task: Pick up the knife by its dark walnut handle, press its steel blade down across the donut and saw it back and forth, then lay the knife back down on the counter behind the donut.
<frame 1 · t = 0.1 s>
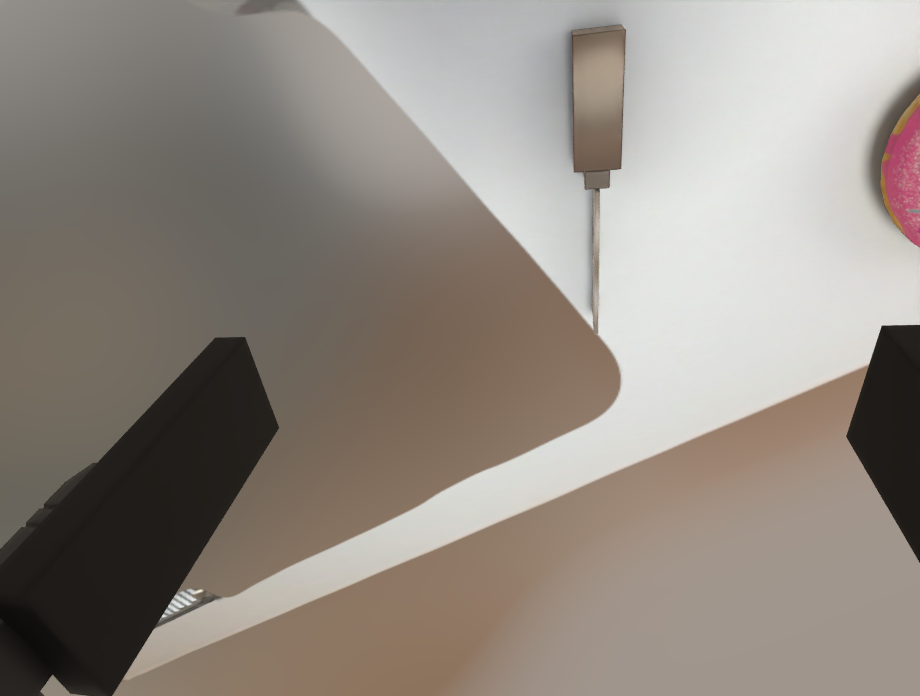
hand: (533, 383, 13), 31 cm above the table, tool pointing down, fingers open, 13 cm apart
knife: (596, 96, 38), on the table
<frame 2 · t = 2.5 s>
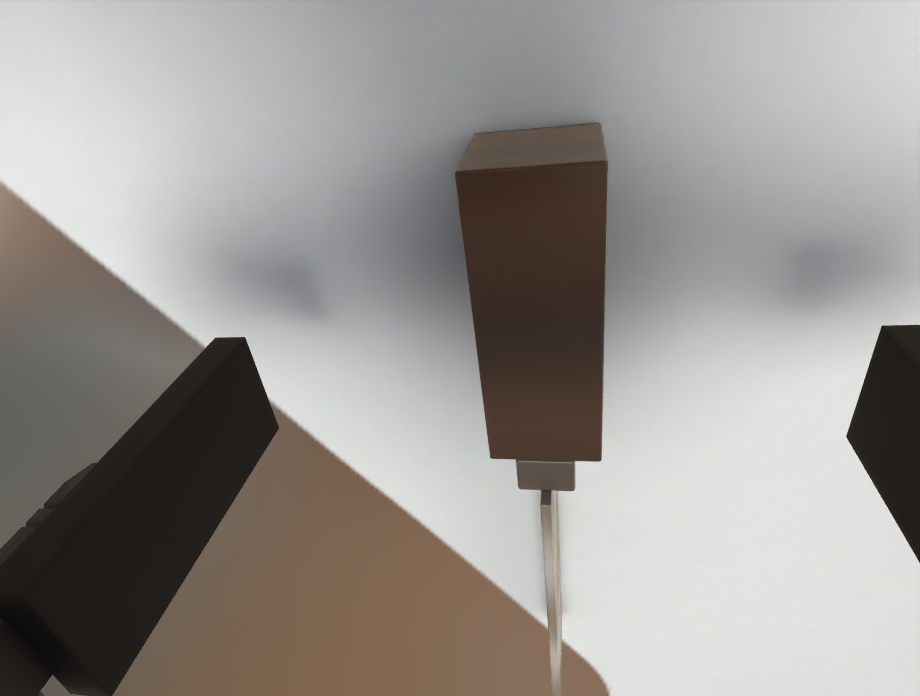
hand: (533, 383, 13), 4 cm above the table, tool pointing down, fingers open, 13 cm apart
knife: (543, 278, 16), on the table
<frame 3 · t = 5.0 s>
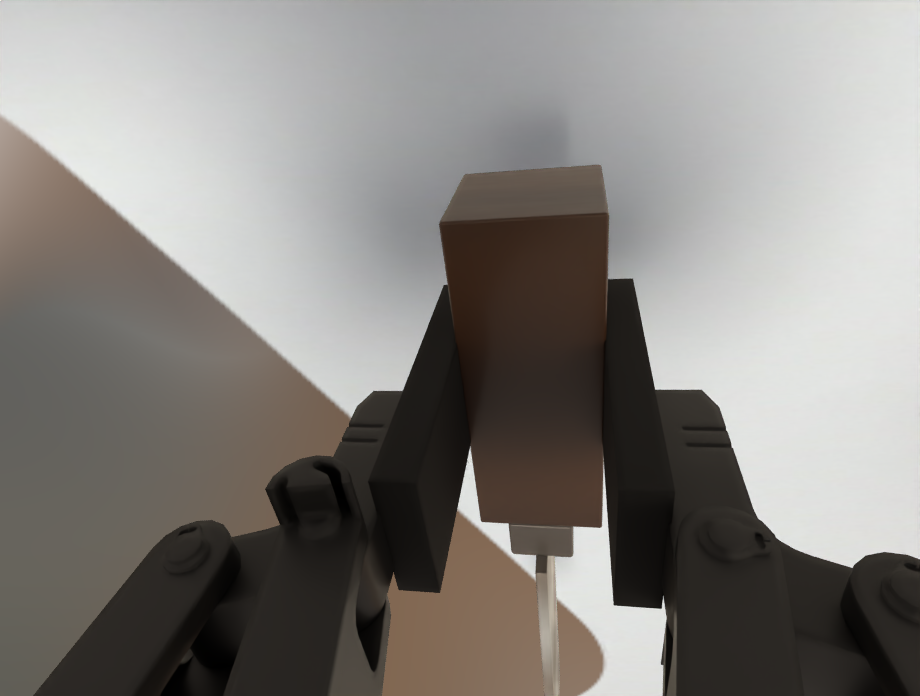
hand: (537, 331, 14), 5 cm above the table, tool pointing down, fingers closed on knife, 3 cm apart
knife: (538, 326, 15), point 5 cm above the table, touching gripper
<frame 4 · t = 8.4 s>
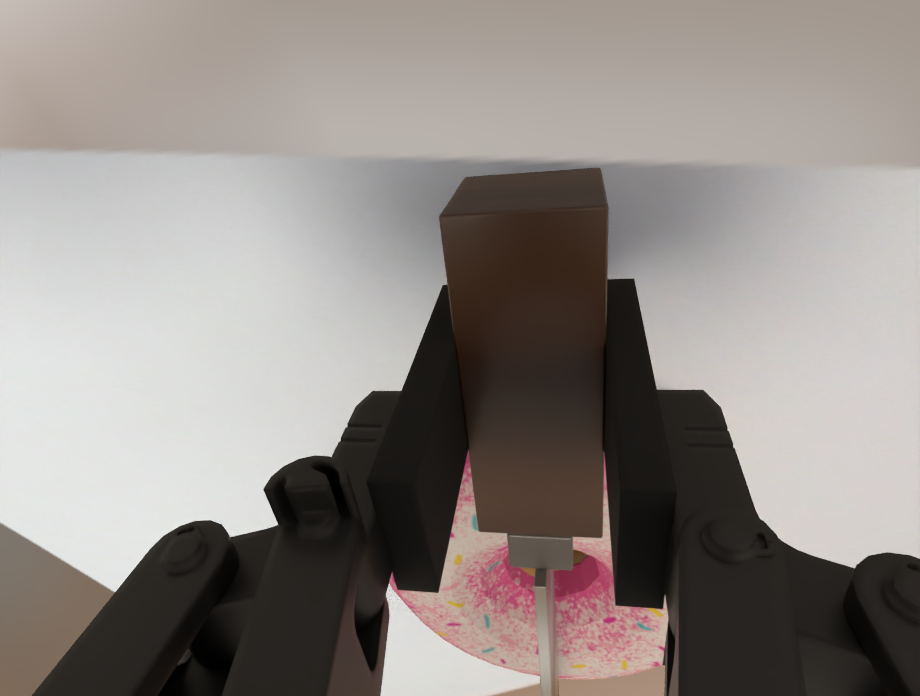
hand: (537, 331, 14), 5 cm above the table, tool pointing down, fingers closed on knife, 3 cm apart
donut: (552, 494, 25), on the table, touching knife
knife: (538, 332, 15), point 5 cm above the table, touching donut, gripper
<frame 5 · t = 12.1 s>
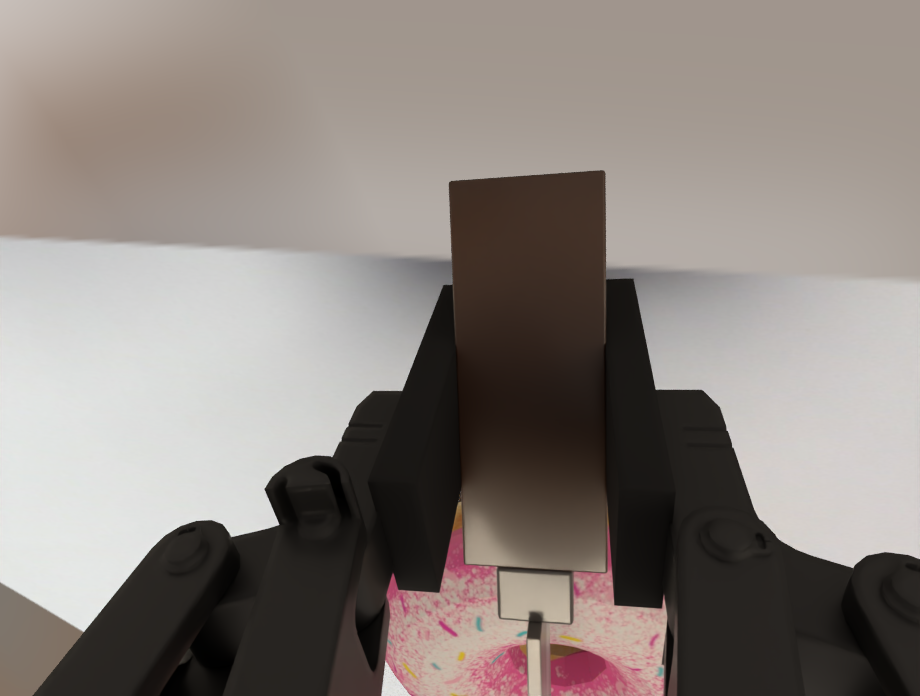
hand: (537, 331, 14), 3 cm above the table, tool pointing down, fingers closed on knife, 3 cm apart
donut: (558, 573, 24), on the table
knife: (538, 359, 14), point 3 cm above the table, tilted 25°, touching gripper
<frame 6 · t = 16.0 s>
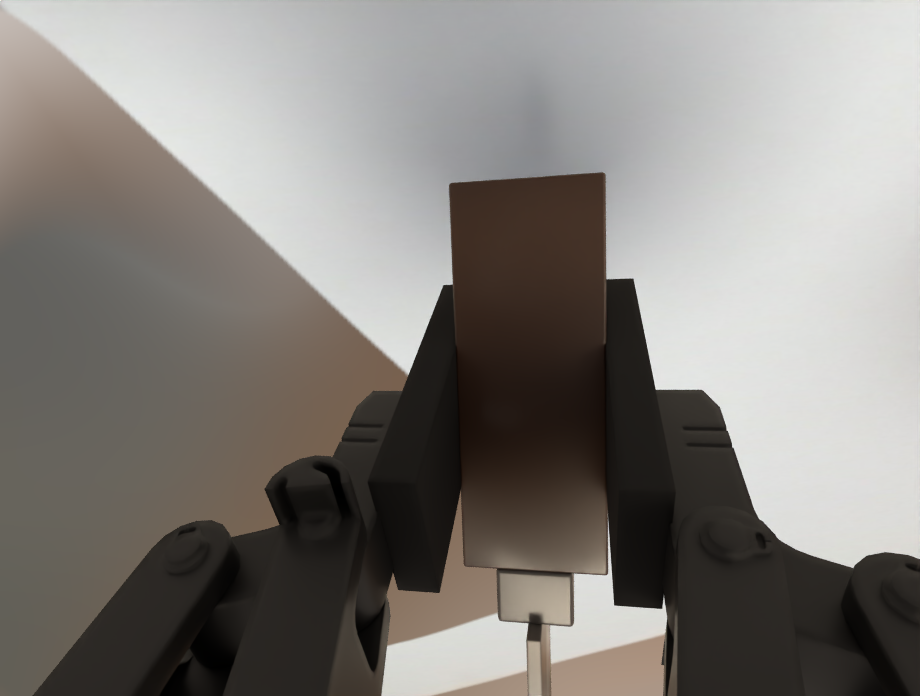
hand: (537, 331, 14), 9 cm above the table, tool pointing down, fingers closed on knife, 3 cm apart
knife: (538, 360, 14), point 10 cm above the table, tilted 26°, touching gripper
when the fingers open (0 cm above the table, at t = 19.3 s): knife stays where it is, on the table.
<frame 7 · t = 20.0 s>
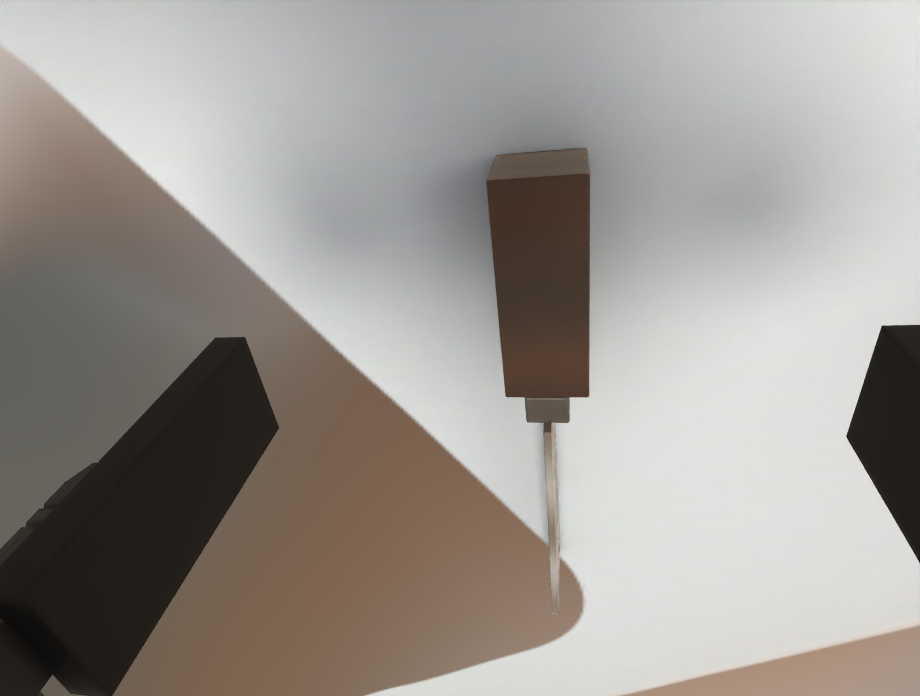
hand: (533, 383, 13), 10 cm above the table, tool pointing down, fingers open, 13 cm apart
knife: (545, 262, 21), on the table
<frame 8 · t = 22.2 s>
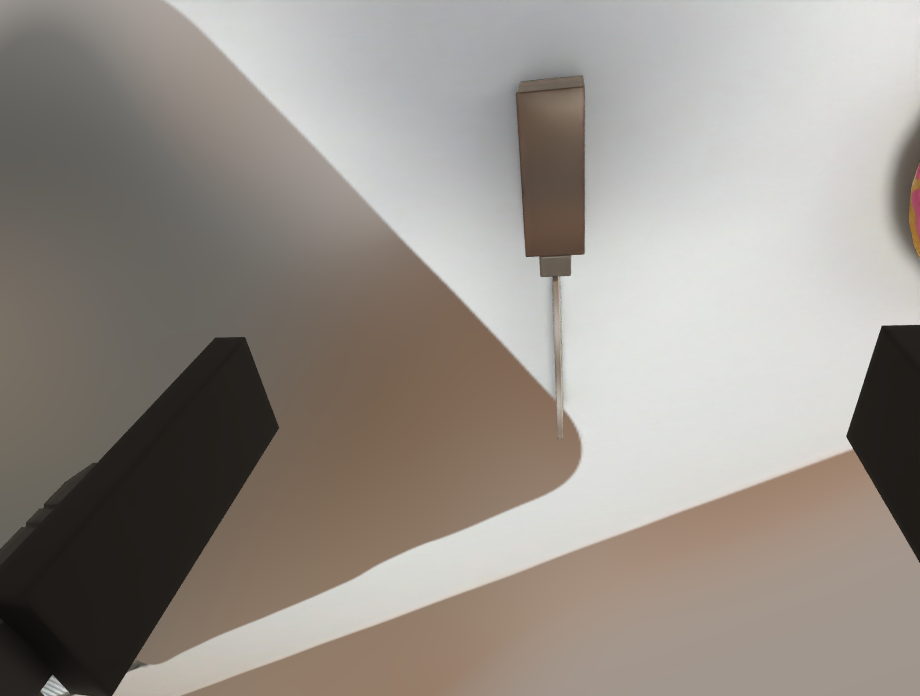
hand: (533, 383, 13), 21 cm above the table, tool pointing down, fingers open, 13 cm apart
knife: (553, 161, 30), on the table
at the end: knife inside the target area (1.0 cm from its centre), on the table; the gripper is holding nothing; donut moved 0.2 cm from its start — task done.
